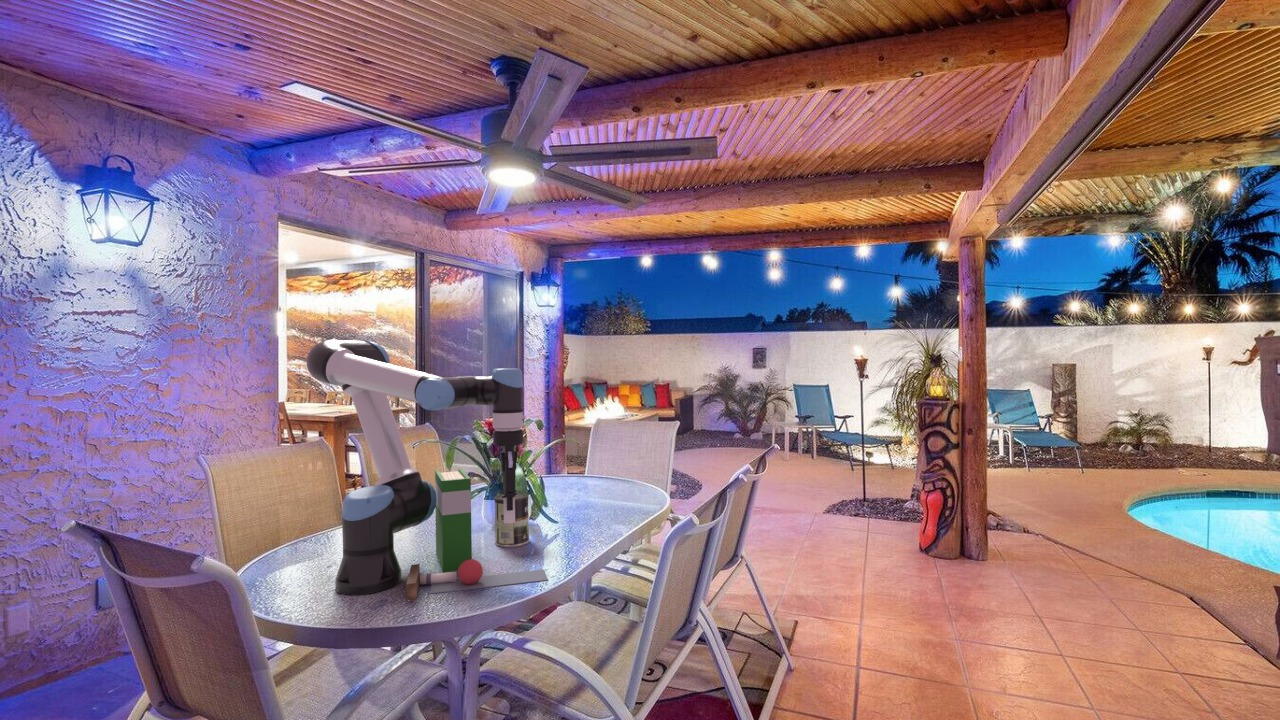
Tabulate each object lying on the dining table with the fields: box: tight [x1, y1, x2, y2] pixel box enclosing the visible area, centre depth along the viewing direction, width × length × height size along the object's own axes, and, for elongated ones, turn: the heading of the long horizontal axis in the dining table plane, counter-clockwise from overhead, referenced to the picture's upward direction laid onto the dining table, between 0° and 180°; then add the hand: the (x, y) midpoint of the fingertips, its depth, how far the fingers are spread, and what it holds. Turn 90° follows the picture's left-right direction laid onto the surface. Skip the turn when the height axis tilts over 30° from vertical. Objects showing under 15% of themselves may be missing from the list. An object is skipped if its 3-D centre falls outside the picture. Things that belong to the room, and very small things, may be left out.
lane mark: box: [430, 569, 549, 595], centre depth 153 cm, size 28×8×1 cm, turn 106°
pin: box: [419, 571, 458, 586], centre depth 152 cm, size 2×2×8 cm
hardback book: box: [434, 468, 473, 573], centre depth 170 cm, size 18×7×24 cm, turn 24°
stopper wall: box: [406, 563, 421, 602], centre depth 148 cm, size 2×14×4 cm, turn 16°
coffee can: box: [493, 492, 530, 548], centre depth 186 cm, size 10×10×14 cm
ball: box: [457, 558, 484, 585], centre depth 151 cm, size 6×6×6 cm
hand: (509, 522), depth 154 cm, fingers closed
